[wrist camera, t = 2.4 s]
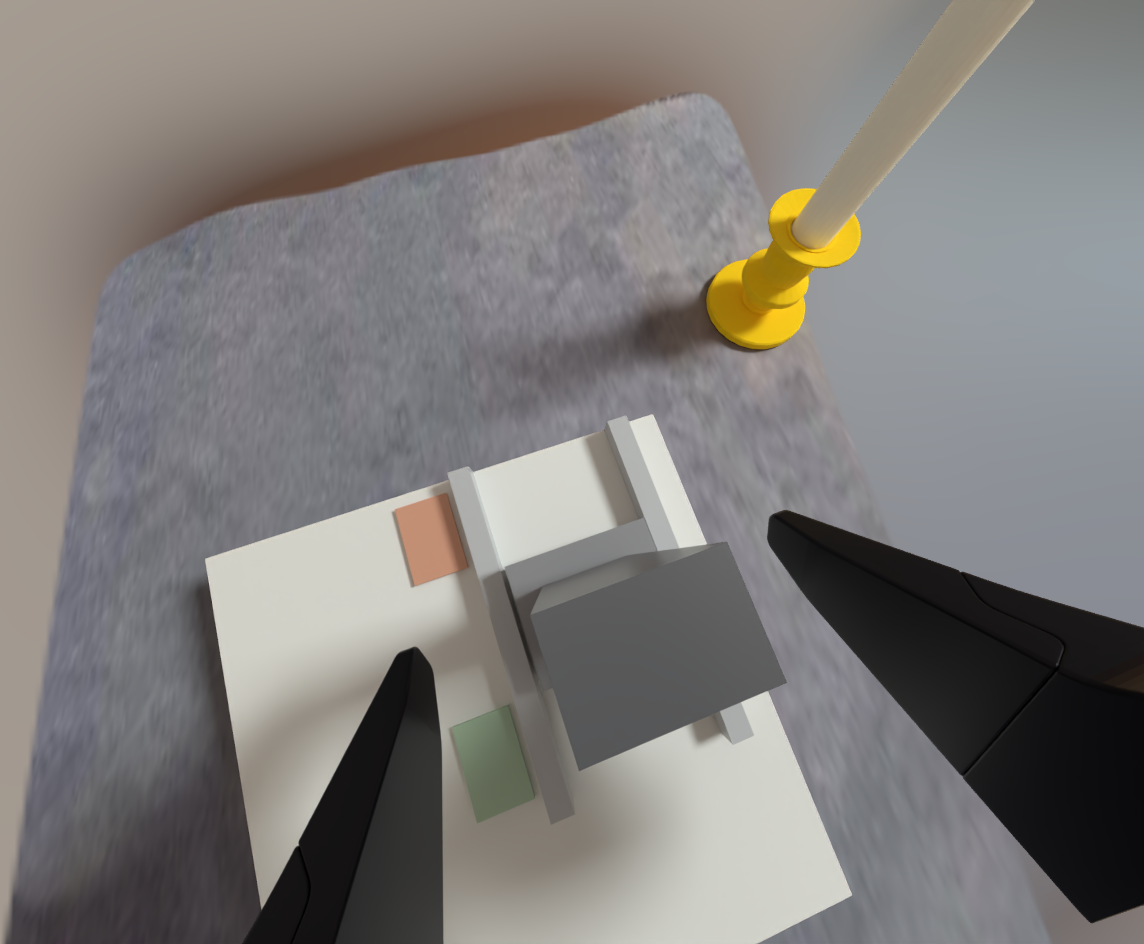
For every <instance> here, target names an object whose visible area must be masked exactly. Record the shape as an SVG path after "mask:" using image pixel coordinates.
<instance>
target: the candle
mask: <svg viewBox="0 0 1144 944" xmlns="http://www.w3.org/2000/svg"><path fill="white" fill-rule="evenodd" d="M1034 1H1035V0H952V2H951V3H950V5H949V6H948V8H947V9H946V10H945V12H944V13H943V14H942V16H941V17H940V19H939V20H938V22H937V23H936V24H935V26H934V27H933V29H932V30H931V31H930V33H929V34H928V36H927V37H926V38H925V40H924V41H923V42H922V44H921V45H920V47H919V48H918V49H917V51H916V52H915V54H914V55H913V56H912V58H911V59H910V60H909V62H908V63H907V65H906V66H905V67H904V69H903V70H902V72H901V73H900V74H899V76H898V77H897V79H896V80H895V81H894V83H893V84H892V86H891V87H890V88H889V90H888V91H887V93H886V94H885V95H884V97H883V98H882V100H881V101H880V102H879V104H878V105H877V107H876V108H875V110H874V111H873V112H872V114H871V115H870V116H869V118H868V119H867V120H866V122H865V123H864V125H863V126H862V128H861V129H860V130H859V132H858V133H857V135H856V136H855V137H854V139H853V140H852V141H851V143H850V144H849V146H848V147H847V148H846V150H845V151H844V153H843V154H842V155H841V157H840V158H839V160H838V161H837V163H836V164H835V165H834V167H833V168H832V170H831V171H830V172H829V174H828V175H827V176H826V178H825V179H824V180H823V182H822V183H821V185H820V186H819V188H818V189H805V188H804V189H798V190H792V191H790V192H788V193H786V194H784V195H782V196H781V197H780V198H779V199H778V200H777V201H776V202H775V204H774V205H773V207H772V209H771V211H770V214H769V220H768V224H769V231H770V234H771V236H772V238H773V241H772V242H771V244H770V246H769V248H767V249H762V250H760V251H758V252H756V253H754V254H753V255H752V256H751V257H750V258H749V259H746V260H741V261H736V262H733V263H731V264H729V265H727V266H725V267H724V268H723V269H722V270H721V271H719V272H718V273H717V274H716V276H715V278H714V279H713V281H712V283H711V285H710V287H709V288H708V293H707V298H706V302H707V311H708V314H709V316H710V319H711V321H712V323H713V324H714V325H715V327H716V328H717V330H718V331H719V332H720V333H721V334H722V335H724V336H725V337H726V338H727V339H728V340H730V341H732V342H734V343H736V344H738V345H740V346H743V347H747V348H751V349H769V348H773V347H777V346H779V345H781V344H782V343H784V342H786V341H788V340H789V339H790V338H791V337H792V336H793V335H794V334H795V333H796V331H797V330H798V329H799V328H800V326H801V324H802V322H803V320H804V314H805V303H804V297H803V296H804V295H805V293H806V291H807V289H808V284H809V277H808V275H809V274H810V273H811V272H812V271H813V270H814V268H829V267H834V266H838V265H840V264H842V263H844V262H846V261H847V260H848V259H849V258H850V257H851V256H852V255H853V254H854V253H855V252H856V250H857V248H858V246H859V244H860V237H861V231H860V226H859V222H858V220H857V218H856V216H855V214H854V213H855V212H856V211H857V210H858V209H859V207H860V206H861V205H862V204H863V203H864V201H865V200H866V199H867V198H868V196H870V194H871V193H872V192H873V191H874V190H875V189H876V187H877V186H878V185H879V184H880V183H881V181H882V180H883V179H884V178H885V177H886V175H887V174H888V173H889V172H890V171H891V170H892V168H893V167H894V166H895V165H896V164H897V162H898V161H899V160H900V159H901V158H902V157H903V155H904V154H905V153H906V152H907V151H908V150H909V148H910V147H911V146H912V145H913V144H914V142H915V141H916V140H917V139H918V138H919V137H920V135H921V134H922V133H923V132H924V131H925V129H926V128H927V127H928V126H929V125H930V124H931V122H932V121H933V120H934V119H935V118H936V117H937V115H938V114H939V113H940V112H941V111H942V109H943V108H944V107H945V106H946V105H947V104H948V102H949V101H950V100H951V99H952V98H953V97H954V95H955V94H956V93H957V92H958V90H959V89H960V88H961V87H962V86H963V84H965V82H966V81H967V80H968V79H969V78H970V76H971V75H972V74H973V73H974V72H975V71H976V69H977V68H978V67H979V66H980V65H981V63H982V62H983V61H984V60H985V59H986V58H987V56H988V55H989V54H990V53H991V52H992V51H993V49H994V48H995V47H996V46H997V45H998V43H999V42H1000V41H1001V40H1002V39H1003V38H1004V36H1005V35H1006V34H1007V33H1008V32H1009V30H1010V29H1011V28H1012V27H1013V26H1014V25H1015V23H1016V22H1017V21H1018V20H1019V19H1020V17H1021V16H1022V15H1023V14H1024V13H1025V11H1026V10H1027V9H1028V8H1029V7H1030V6H1031V4H1032V3H1033V2H1034Z"/></svg>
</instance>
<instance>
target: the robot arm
mask: <svg viewBox="0 0 1144 944" xmlns="http://www.w3.org/2000/svg"><path fill="white" fill-rule="evenodd" d="M767 540H768V543H769V546H770V547H771V549H772V550H773V552H774V553H775V554H776V556H777V557H778V559H779V560H780V562H781V563H782V564H783V566H784V567H785V569H786V570H787V571H788V573H789V574H790V576H791V577H792V579H793V580H794V581H795V583H796V584H797V586H798V587H799V588H800V590H801V591H802V592H803V594H804V595H805V596H806V598H807V599H808V600H809V601H810V602H811V604H812V605H813V606H814V607H815V608H816V609H817V611H818V612H819V613H820V614H821V615H822V616H823V618H824V619H825V620H826V621H827V622H828V623H829V624H830V626H831V627H832V628H833V629H834V630H835V631H836V632H837V634H838V635H839V636H840V637H841V638H842V639H843V641H844V642H845V643H846V644H847V645H848V646H849V647H850V649H851V650H852V651H853V652H854V653H855V654H856V655H857V657H858V658H859V659H860V660H861V661H862V662H863V664H864V665H865V666H866V667H867V668H868V669H869V670H870V672H871V673H872V674H873V675H874V676H875V677H876V678H877V680H878V681H879V682H880V683H881V684H882V685H883V686H884V688H885V689H886V690H887V691H888V692H889V693H890V695H891V696H892V697H893V698H894V699H895V700H896V701H897V703H898V704H899V705H900V706H901V707H902V708H903V709H904V711H905V712H906V713H907V714H908V715H909V716H910V718H911V719H912V720H913V721H914V722H915V723H916V724H917V726H918V727H919V728H920V729H921V730H922V731H923V732H924V734H925V735H926V736H927V737H928V738H929V739H930V741H931V742H932V743H933V744H934V745H935V746H936V747H937V749H938V750H939V751H940V752H941V753H942V754H943V755H944V757H945V758H946V759H947V760H948V761H949V762H950V763H951V765H952V766H953V767H954V768H955V769H956V770H957V772H958V773H959V774H960V775H962V776H963V779H964V780H965V781H966V782H967V783H968V785H969V786H970V787H971V788H972V789H973V790H974V791H975V793H976V794H977V795H978V796H979V797H980V798H981V800H982V801H983V802H984V803H985V804H986V805H987V806H988V808H989V809H990V810H991V811H992V812H993V813H994V814H995V816H996V817H997V818H998V819H999V820H1000V821H1001V823H1002V824H1003V825H1004V826H1005V827H1006V828H1007V829H1008V831H1009V832H1010V833H1011V834H1012V835H1013V836H1014V837H1015V839H1016V840H1017V841H1018V842H1019V843H1020V844H1021V845H1022V846H1023V848H1024V849H1025V850H1026V851H1027V852H1028V853H1029V855H1030V856H1031V857H1032V858H1033V859H1034V860H1035V861H1036V863H1037V864H1038V865H1039V866H1040V867H1041V868H1042V869H1043V871H1044V872H1045V873H1046V874H1047V875H1048V876H1049V877H1050V879H1051V880H1052V881H1053V882H1054V883H1055V885H1056V886H1057V887H1058V888H1059V889H1060V890H1061V891H1062V893H1063V894H1064V895H1065V896H1066V897H1067V898H1068V899H1069V901H1070V902H1071V903H1072V904H1073V905H1074V906H1075V907H1076V908H1077V910H1078V911H1079V912H1080V913H1081V914H1082V915H1083V916H1084V917H1085V918H1086V919H1087V920H1088V921H1089V922H1090V923H1095V922H1098V921H1101V920H1103V919H1106V918H1109V917H1112V916H1115V915H1118V914H1121V913H1123V912H1126V911H1129V910H1132V909H1135V908H1137V907H1140V906H1143V905H1144V628H1143V627H1140V626H1136V625H1132V624H1129V623H1126V622H1123V621H1119V620H1116V619H1112V618H1109V617H1106V616H1102V615H1099V614H1095V613H1092V612H1088V611H1085V610H1082V609H1078V608H1075V607H1071V606H1068V605H1065V604H1061V603H1058V602H1054V601H1051V600H1048V599H1045V598H1041V597H1038V596H1034V595H1031V594H1028V593H1024V592H1022V591H1018V590H1015V589H1012V588H1009V587H1006V586H1003V585H1000V584H997V583H994V582H991V581H988V580H985V579H983V578H980V577H977V576H974V575H971V574H968V573H965V572H959V570H956V569H954V568H951V567H948V566H945V565H942V564H940V563H937V562H934V561H931V560H928V559H925V558H922V557H919V556H916V555H914V554H911V553H908V552H905V551H903V550H900V549H897V548H894V547H891V546H888V545H885V544H883V543H880V542H877V541H874V540H871V539H868V538H866V537H863V536H860V535H857V534H854V533H851V532H848V531H846V530H843V529H840V528H837V527H834V526H831V525H829V524H826V523H823V522H820V521H817V520H814V519H811V518H809V517H806V516H803V515H800V514H797V513H794V512H791V511H788V510H783V511H780V512H777V513H775V514H772V515H771V516H770V517H769V524H768V534H767ZM298 844H299V846H296V847H295V849H294V850H293V852H292V854H291V856H290V858H289V860H288V862H287V864H286V866H285V868H284V869H283V871H282V873H281V875H280V877H279V879H278V881H277V882H276V884H275V886H274V888H273V890H272V892H271V893H270V895H269V897H268V899H267V901H266V903H265V904H264V906H263V908H262V910H261V912H260V914H259V915H258V917H257V919H256V921H255V922H254V924H253V926H252V927H251V929H250V931H249V933H248V934H247V936H246V938H245V939H244V941H243V943H242V944H444V943H443V816H442V741H441V731H440V722H439V714H438V706H437V697H436V689H435V680H434V673H433V669H432V667H431V665H430V663H429V662H428V660H427V659H426V658H425V656H424V655H423V653H422V652H421V651H420V649H419V648H418V647H415V646H414V647H411V648H408V649H405V650H403V651H400V652H399V653H398V654H397V655H396V656H395V658H394V660H393V662H392V664H391V666H390V668H389V669H388V671H387V673H386V675H385V677H384V679H383V681H382V683H381V685H380V687H379V689H378V690H377V692H376V694H375V696H374V698H373V700H372V702H371V704H370V706H369V708H368V710H367V711H366V713H365V715H364V717H363V719H362V721H361V723H360V725H359V727H358V729H357V731H356V732H355V734H354V736H353V738H352V740H351V742H350V744H349V746H348V748H347V750H346V751H345V753H344V755H343V757H342V759H341V761H340V763H339V765H338V767H337V769H336V771H335V772H334V774H333V776H332V778H331V780H330V782H329V784H328V786H327V788H326V790H325V792H324V793H323V795H322V797H321V799H320V801H319V803H318V805H317V807H316V809H315V811H314V813H313V814H312V816H311V818H310V820H309V822H308V824H307V826H306V828H305V830H304V832H303V834H302V835H301V837H300V839H299V842H298Z"/></svg>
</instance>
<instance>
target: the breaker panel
mask: <svg viewBox="0 0 1144 944" xmlns="http://www.w3.org/2000/svg"><path fill="white" fill-rule="evenodd" d="M448 477H449V480H448V481H444V482H441V483H438V484H435V485H432V486H429V487H426V488H423V489H420V490H417V491H414V492H410V493H407V494H404V495H401V496H398V497H395V498H392V499H389V500H386V501H383V502H380V503H376V504H373V505H370V506H367V507H364V508H361V509H358V510H355V511H352V512H349V513H346V514H342V515H339V516H336V517H333V518H330V519H327V520H324V521H321V522H318V523H315V524H311V525H308V526H305V527H302V528H299V529H296V530H293V531H290V532H287V533H284V534H281V535H277V536H274V537H271V538H268V539H265V540H262V541H259V542H256V543H253V544H250V545H247V546H243V547H240V548H237V549H234V550H231V551H228V552H225V553H222V554H219V555H216V556H213V557H209V558H206V559H205V561H206V568H207V574H208V580H209V586H210V592H211V599H212V605H213V611H214V617H215V624H216V630H217V636H218V642H219V648H220V655H221V661H222V667H223V673H224V680H225V686H226V692H227V698H228V704H229V711H230V717H231V723H232V729H233V736H234V742H235V748H236V754H237V760H238V767H239V773H240V779H241V785H242V791H243V798H244V804H245V810H246V816H247V823H248V829H249V835H250V841H251V847H252V854H253V860H254V866H255V872H256V879H257V885H258V891H259V897H260V903H261V910H262V908H263V906H264V904H265V903H266V901H267V899H268V897H269V895H270V893H271V892H272V890H273V888H274V886H275V884H276V882H277V881H278V879H279V877H280V875H281V873H282V871H283V869H284V868H285V866H286V864H287V862H288V860H289V858H290V856H291V854H292V852H293V850H294V849H295V847H296V846H299V844H298V842H299V839H300V837H301V835H302V834H303V832H304V830H305V828H306V826H307V824H308V822H309V820H310V818H311V816H312V814H313V813H314V811H315V809H316V807H317V805H318V803H319V801H320V799H321V797H322V795H323V793H324V792H325V790H326V788H327V786H328V784H329V782H330V780H331V778H332V776H333V774H334V772H335V771H336V769H337V767H338V765H339V763H340V761H341V759H342V757H343V755H344V753H345V751H346V750H347V748H348V746H349V744H350V742H351V740H352V738H353V736H354V734H355V732H356V731H357V729H358V727H359V725H360V723H361V721H362V719H363V717H364V715H365V713H366V711H367V710H368V708H369V706H370V704H371V702H372V700H373V698H374V696H375V694H376V692H377V690H378V689H379V687H380V685H381V683H382V681H383V679H384V677H385V675H386V673H387V671H388V669H389V668H390V666H391V664H392V662H393V660H394V658H395V656H396V655H397V654H398V653H399V652H400V651H403V650H405V649H408V648H411V647H414V646H415V647H418V648H419V649H420V651H421V652H422V653H423V655H424V656H425V658H426V659H427V660H428V662H429V663H430V665H431V667H432V669H433V673H434V680H435V689H436V697H437V706H438V714H439V722H440V731H441V741H442V816H443V943H444V944H757V943H759V942H761V941H763V940H765V939H767V938H769V937H771V936H773V935H775V934H777V933H779V932H781V931H783V930H785V929H787V928H789V927H791V926H793V925H795V924H797V923H799V922H801V921H803V920H805V919H807V918H808V917H810V916H812V915H814V914H816V913H818V912H820V911H822V910H824V909H826V908H828V907H830V906H832V905H834V904H836V903H838V902H840V901H842V900H844V899H846V898H848V897H850V896H852V893H851V891H850V888H849V886H848V884H847V881H846V879H845V876H844V874H843V872H842V869H841V867H840V864H839V862H838V860H837V857H836V855H835V852H834V850H833V847H832V845H831V843H830V840H829V838H828V835H827V833H826V831H825V828H824V826H823V823H822V821H821V818H820V816H819V814H818V811H817V809H816V806H815V804H814V802H813V799H812V797H811V794H810V792H809V790H808V787H807V785H806V782H805V780H804V777H803V775H802V773H801V770H800V768H799V765H798V763H797V761H796V758H795V756H794V753H793V751H792V749H791V746H790V744H789V741H788V739H787V736H786V734H785V732H784V729H783V727H782V724H781V722H780V720H779V717H778V715H777V712H776V710H775V708H774V705H773V703H772V700H771V698H770V695H769V693H768V691H766V692H764V693H761V694H759V695H757V696H754V697H752V698H750V699H747V700H745V701H743V702H740V703H738V704H736V705H733V706H731V707H729V708H726V709H724V710H722V711H719V712H717V713H715V714H712V715H710V716H708V717H705V718H703V719H700V720H698V721H696V722H693V723H691V724H689V725H686V726H684V727H682V728H679V729H677V730H675V731H672V732H670V733H668V734H665V735H663V736H661V737H658V738H656V739H654V740H651V741H649V742H647V743H644V744H642V745H639V746H637V747H635V748H632V749H630V750H628V751H625V752H623V753H621V754H618V755H616V756H614V757H611V758H609V759H607V760H604V761H602V762H600V763H597V764H595V765H593V766H590V767H588V768H586V769H583V770H581V771H579V770H578V766H577V763H576V760H575V757H574V754H573V750H572V747H571V744H570V741H569V738H568V735H567V731H566V728H565V725H564V722H563V719H562V715H561V712H560V709H559V706H558V703H557V700H556V696H555V693H554V690H553V688H551V689H548V690H546V691H543V690H542V687H541V683H540V680H539V677H538V674H537V670H536V667H535V664H534V661H533V657H532V654H531V651H530V648H529V645H528V641H527V638H526V635H525V632H524V628H523V625H522V622H521V619H520V615H519V612H518V609H517V606H516V602H515V599H514V596H513V593H512V590H511V586H510V583H509V580H508V577H507V573H506V570H505V567H506V566H509V565H511V564H514V563H517V562H520V561H523V560H526V559H528V558H531V557H534V556H537V555H540V554H542V553H545V552H548V551H551V550H554V549H557V548H559V547H562V546H565V545H568V544H571V543H573V542H576V541H579V540H582V539H585V538H588V537H590V536H593V535H596V534H599V533H602V532H604V531H607V530H610V529H613V528H616V527H618V526H621V525H624V524H627V523H630V522H633V521H635V520H638V519H641V518H644V519H645V521H646V524H647V526H648V529H649V532H650V534H651V537H652V539H653V542H654V544H655V547H656V550H657V551H662V550H670V549H677V548H684V547H692V546H699V545H706V544H707V543H706V541H705V539H704V536H703V534H702V531H701V529H700V527H699V524H698V522H697V519H696V517H695V514H694V512H693V510H692V507H691V505H690V502H689V500H688V498H687V495H686V493H685V490H684V488H683V486H682V483H681V481H680V478H679V476H678V473H677V471H676V469H675V466H674V464H673V461H672V459H671V457H670V454H669V452H668V449H667V447H666V444H665V442H664V440H663V437H662V435H661V432H660V430H659V428H658V425H657V423H656V420H655V418H654V416H653V414H652V415H649V416H646V417H642V418H639V419H636V420H633V421H630V422H629V421H628V418H627V416H623V417H620V418H617V419H614V420H611V421H608V422H607V424H606V427H605V429H604V430H602V431H599V432H596V433H593V434H590V435H587V436H584V437H581V438H578V439H574V440H571V441H568V442H565V443H562V444H559V445H556V446H553V447H550V448H547V449H543V450H540V451H537V452H534V453H531V454H528V455H525V456H522V457H519V458H516V459H513V460H509V461H506V462H503V463H500V464H497V465H494V466H491V467H488V468H485V469H482V470H479V471H475V472H473V471H472V470H471V469H470V468H469V467H468V466H467V467H464V468H461V469H458V470H455V471H452V472H449V473H448Z"/></svg>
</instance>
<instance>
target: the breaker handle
mask: <svg viewBox="0 0 1144 944" xmlns="http://www.w3.org/2000/svg"><path fill="white" fill-rule="evenodd" d="M505 570H506V573H507V577H508V580H509V583H510V586H511V590H512V593H513V596H514V599H515V602H516V606H517V609H518V612H519V615H520V619H521V622H522V625H523V628H524V632H525V635H526V638H527V641H528V645H529V648H530V651H531V654H532V657H533V661H534V664H535V667H536V670H537V674H538V677H539V680H540V683H541V687H542V690H543V691H546V690H548V689H551V688H553V690H554V693H555V696H556V700H557V703H558V706H559V709H560V712H561V715H562V719H563V722H564V725H565V728H566V731H567V735H568V738H569V741H570V744H571V747H572V750H573V754H574V757H575V760H576V763H577V766H578V770H579V771H581V770H583V769H586V768H588V767H590V766H593V765H595V764H597V763H600V762H602V761H604V760H607V759H609V758H611V757H614V756H616V755H618V754H621V753H623V752H625V751H628V750H630V749H632V748H635V747H637V746H639V745H642V744H644V743H647V742H649V741H651V740H654V739H656V738H658V737H661V736H663V735H665V734H668V733H670V732H672V731H675V730H677V729H679V728H682V727H684V726H686V725H689V724H691V723H693V722H696V721H698V720H700V719H703V718H705V717H708V716H710V715H712V714H715V713H717V712H719V711H722V710H724V709H726V708H729V707H731V706H733V705H736V704H738V703H740V702H743V701H745V700H747V699H750V698H752V697H754V696H757V695H759V694H761V693H764V692H766V691H769V690H771V689H773V688H776V687H778V686H780V685H783V684H785V683H787V682H786V679H785V677H784V675H783V672H782V670H781V668H780V665H779V663H778V661H777V658H776V656H775V654H774V651H773V649H772V647H771V644H770V642H769V639H768V637H767V635H766V632H765V630H764V628H763V625H762V623H761V621H760V618H759V616H758V614H757V611H756V609H755V607H754V604H753V602H752V599H751V597H750V595H749V592H748V590H747V588H746V585H745V583H744V581H743V578H742V576H741V574H740V571H739V569H738V567H737V564H736V562H735V559H734V557H733V555H732V552H731V550H730V548H729V545H728V543H727V542H721V543H714V544H706V545H699V546H692V547H684V548H677V549H670V550H662V551H657V550H656V547H655V544H654V542H653V539H652V537H651V534H650V532H649V529H648V526H647V524H646V521H645V519H644V518H641V519H638V520H635V521H633V522H630V523H627V524H624V525H621V526H618V527H616V528H613V529H610V530H607V531H604V532H602V533H599V534H596V535H593V536H590V537H588V538H585V539H582V540H579V541H576V542H573V543H571V544H568V545H565V546H562V547H559V548H557V549H554V550H551V551H548V552H545V553H542V554H540V555H537V556H534V557H531V558H528V559H526V560H523V561H520V562H517V563H514V564H511V565H509V566H506V567H505Z"/></svg>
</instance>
